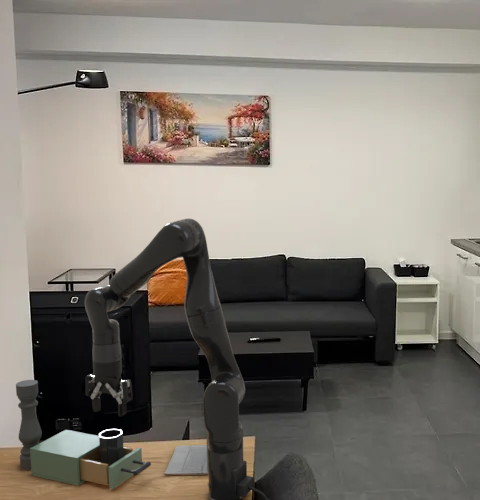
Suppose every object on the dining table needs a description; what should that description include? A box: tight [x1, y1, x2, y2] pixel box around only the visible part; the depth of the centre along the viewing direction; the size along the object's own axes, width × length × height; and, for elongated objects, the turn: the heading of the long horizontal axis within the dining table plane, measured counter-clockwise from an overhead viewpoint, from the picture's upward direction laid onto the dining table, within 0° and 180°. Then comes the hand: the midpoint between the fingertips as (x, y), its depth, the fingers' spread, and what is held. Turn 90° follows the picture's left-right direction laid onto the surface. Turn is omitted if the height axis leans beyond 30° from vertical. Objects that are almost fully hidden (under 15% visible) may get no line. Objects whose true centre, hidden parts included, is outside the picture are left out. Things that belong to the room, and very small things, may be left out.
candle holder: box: [15, 379, 43, 471], centre depth 188 cm, size 6×6×25 cm
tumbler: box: [98, 428, 124, 470], centre depth 184 cm, size 6×6×10 cm
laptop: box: [164, 433, 208, 476], centre depth 193 cm, size 18×12×13 cm
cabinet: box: [30, 429, 99, 487], centre depth 187 cm, size 17×14×8 cm
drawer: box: [79, 446, 152, 490], centre depth 182 cm, size 21×12×6 cm, turn 70°
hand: (109, 413), depth 182 cm, fingers open, 8 cm apart
